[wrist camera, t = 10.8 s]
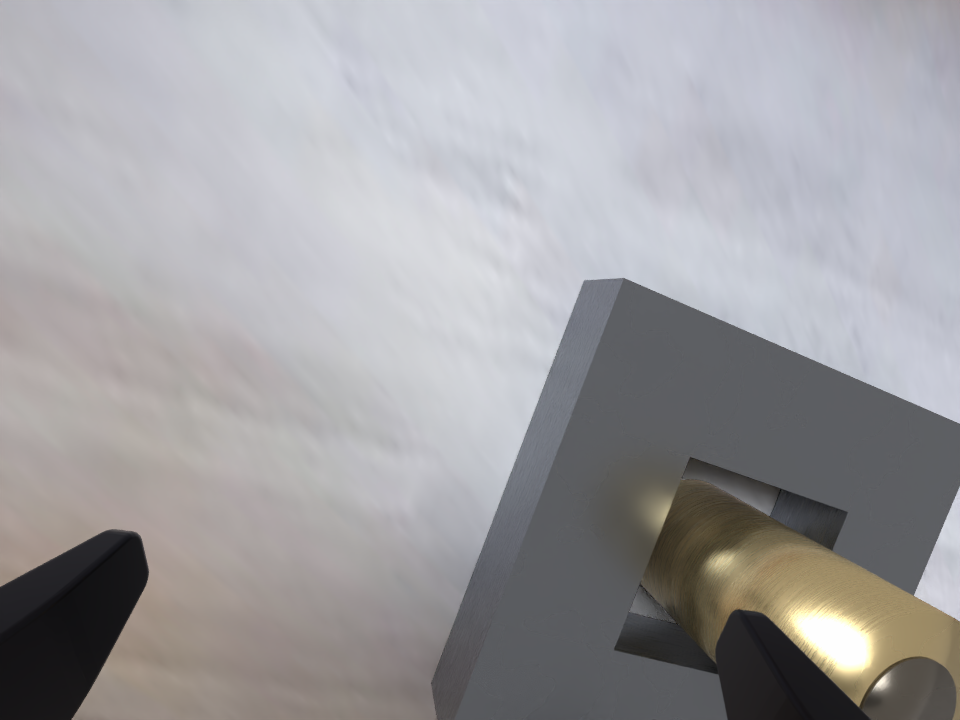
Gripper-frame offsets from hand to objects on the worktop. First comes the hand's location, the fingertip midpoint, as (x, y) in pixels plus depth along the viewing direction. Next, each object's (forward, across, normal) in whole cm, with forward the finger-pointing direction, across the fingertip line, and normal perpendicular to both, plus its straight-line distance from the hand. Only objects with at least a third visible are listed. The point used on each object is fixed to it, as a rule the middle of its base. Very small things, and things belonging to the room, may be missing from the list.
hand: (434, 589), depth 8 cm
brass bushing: (+11, -9, +8) cm, 16 cm away
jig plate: (+11, -9, +8) cm, 16 cm away
